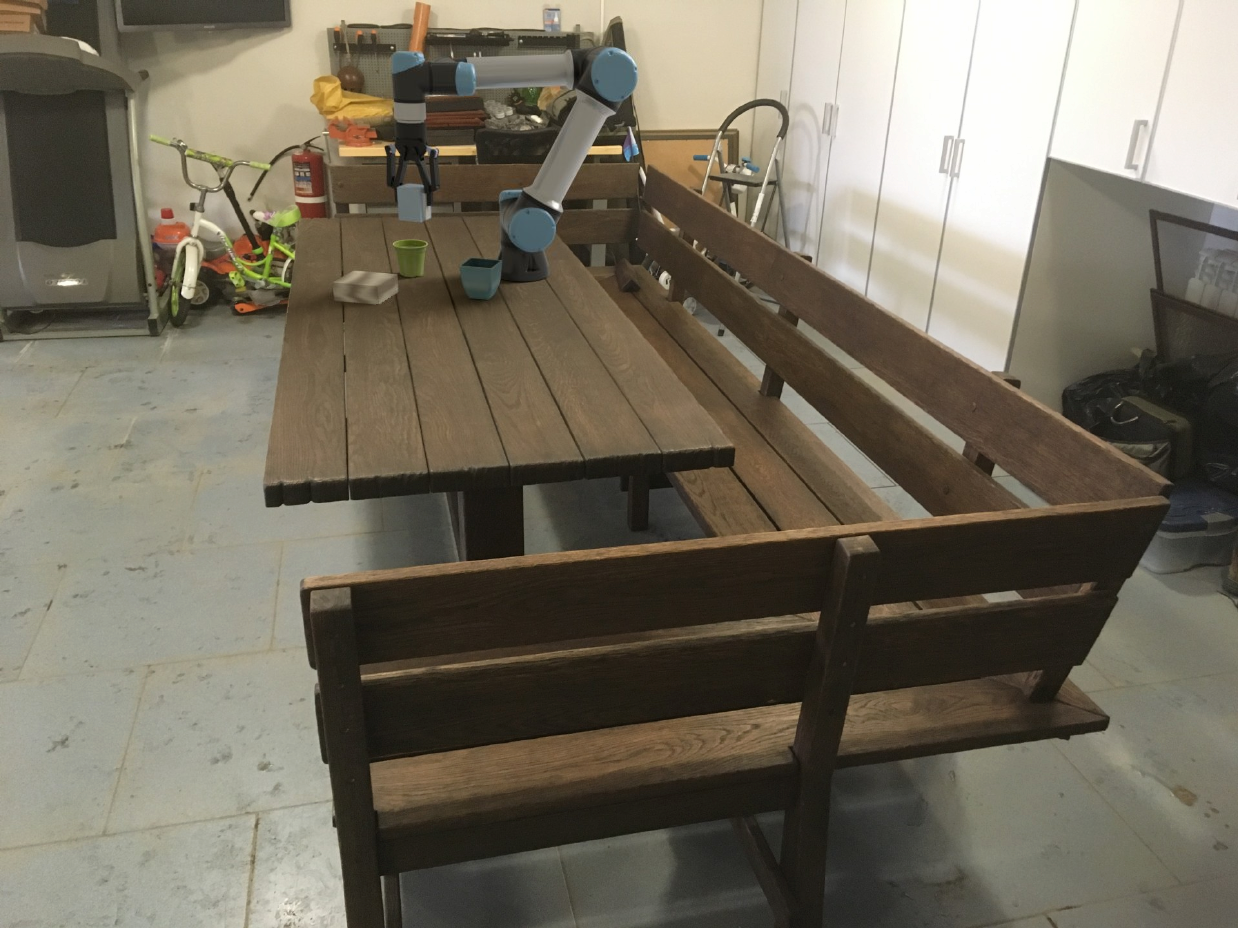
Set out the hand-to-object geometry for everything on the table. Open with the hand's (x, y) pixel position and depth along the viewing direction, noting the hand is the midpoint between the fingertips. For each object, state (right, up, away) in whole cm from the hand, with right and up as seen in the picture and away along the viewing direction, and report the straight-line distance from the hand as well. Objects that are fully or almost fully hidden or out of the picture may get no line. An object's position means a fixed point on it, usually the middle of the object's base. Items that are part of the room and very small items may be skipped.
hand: (414, 217), depth 248 cm
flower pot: (+16, -19, +6) cm, 26 cm away
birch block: (-13, -19, +4) cm, 24 cm away
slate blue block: (0, 0, 0) cm, 0 cm away
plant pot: (-6, -10, +23) cm, 26 cm away
